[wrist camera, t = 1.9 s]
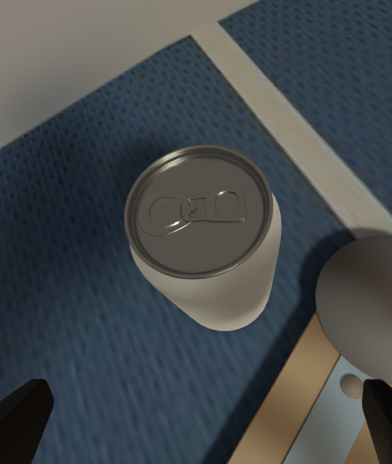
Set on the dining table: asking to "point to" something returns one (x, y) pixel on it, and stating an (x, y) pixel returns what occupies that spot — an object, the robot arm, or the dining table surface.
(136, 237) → the can
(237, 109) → the dining table surface
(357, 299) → the subfloor panel
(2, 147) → the dining table surface
